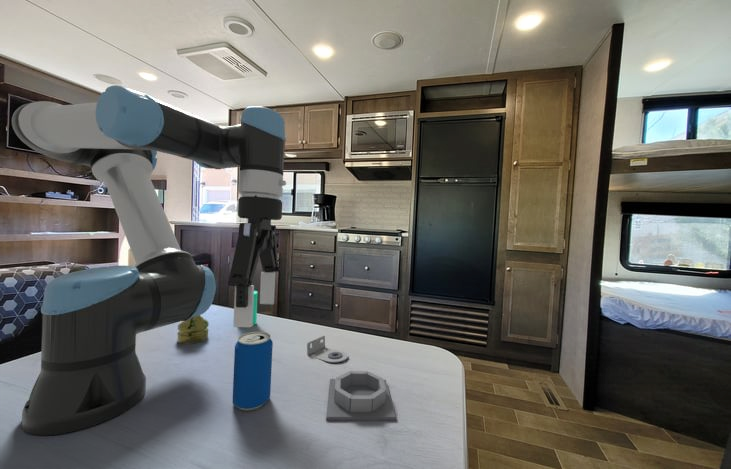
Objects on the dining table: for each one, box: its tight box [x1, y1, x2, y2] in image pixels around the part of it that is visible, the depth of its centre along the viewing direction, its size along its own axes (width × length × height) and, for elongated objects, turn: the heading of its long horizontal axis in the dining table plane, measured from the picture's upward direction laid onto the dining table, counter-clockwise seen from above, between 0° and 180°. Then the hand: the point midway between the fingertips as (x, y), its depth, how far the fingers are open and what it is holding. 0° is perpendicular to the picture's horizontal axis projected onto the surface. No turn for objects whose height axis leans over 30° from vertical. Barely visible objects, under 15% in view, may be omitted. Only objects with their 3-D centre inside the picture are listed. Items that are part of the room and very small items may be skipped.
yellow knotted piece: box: [177, 315, 210, 345], centre depth 78 cm, size 7×7×10 cm
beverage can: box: [232, 331, 274, 411], centre depth 51 cm, size 6×6×12 cm
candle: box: [253, 290, 259, 326], centre depth 91 cm, size 6×6×12 cm
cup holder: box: [325, 370, 397, 421], centre depth 54 cm, size 12×12×3 cm
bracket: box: [306, 335, 349, 364], centre depth 72 cm, size 7×10×4 cm, turn 57°
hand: (256, 313), depth 51 cm, fingers open, 13 cm apart
